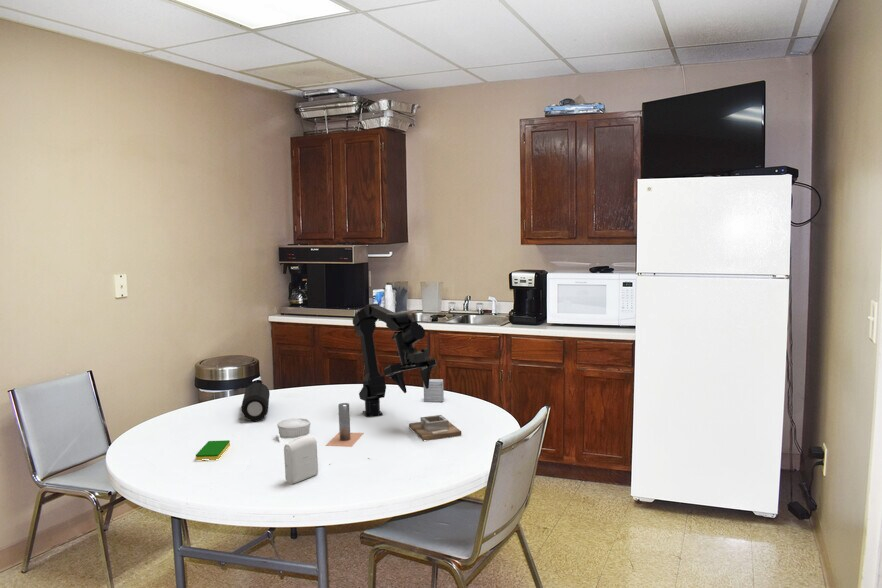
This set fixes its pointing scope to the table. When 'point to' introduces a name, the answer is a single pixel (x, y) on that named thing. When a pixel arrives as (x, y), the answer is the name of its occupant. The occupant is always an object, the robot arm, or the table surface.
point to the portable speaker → (255, 401)
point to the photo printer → (300, 459)
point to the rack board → (434, 428)
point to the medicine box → (434, 391)
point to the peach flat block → (349, 443)
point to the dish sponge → (213, 450)
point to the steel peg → (344, 421)
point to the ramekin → (293, 427)
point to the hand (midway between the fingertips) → (416, 390)
